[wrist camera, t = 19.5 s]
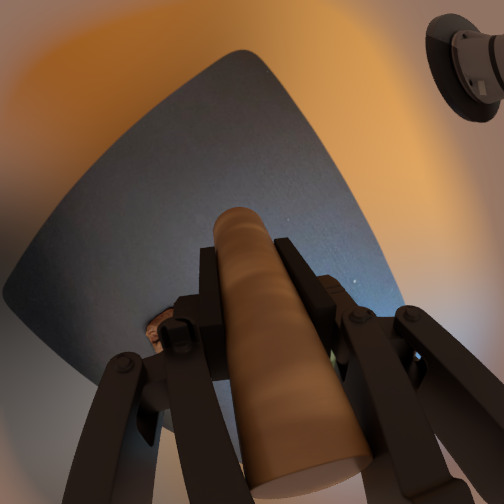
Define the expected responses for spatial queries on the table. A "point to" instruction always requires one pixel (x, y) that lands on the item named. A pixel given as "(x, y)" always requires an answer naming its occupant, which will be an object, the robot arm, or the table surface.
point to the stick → (280, 371)
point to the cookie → (152, 329)
